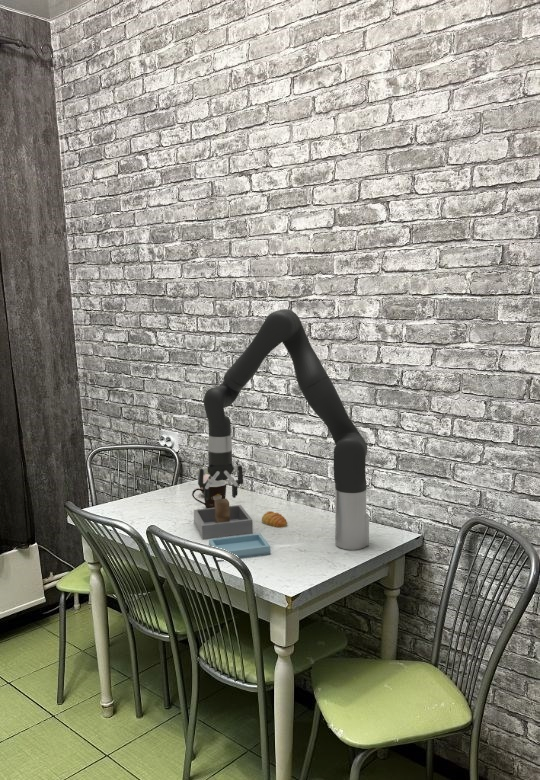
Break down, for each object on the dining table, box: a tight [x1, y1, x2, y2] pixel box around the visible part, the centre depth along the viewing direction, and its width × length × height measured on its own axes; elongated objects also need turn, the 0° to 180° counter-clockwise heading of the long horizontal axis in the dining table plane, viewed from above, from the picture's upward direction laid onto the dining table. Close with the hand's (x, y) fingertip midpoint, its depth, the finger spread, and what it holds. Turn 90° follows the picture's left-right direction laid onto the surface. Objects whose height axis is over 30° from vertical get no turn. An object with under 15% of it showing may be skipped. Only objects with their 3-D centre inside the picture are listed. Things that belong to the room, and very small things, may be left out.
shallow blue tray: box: [208, 533, 271, 559], centre depth 186 cm, size 16×11×2 cm
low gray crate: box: [193, 504, 254, 541], centre depth 203 cm, size 16×16×5 cm
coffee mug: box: [191, 480, 228, 509], centre depth 222 cm, size 12×9×10 cm
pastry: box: [261, 510, 288, 529], centre depth 207 cm, size 9×7×4 cm
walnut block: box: [215, 498, 230, 523], centre depth 203 cm, size 4×4×9 cm
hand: (221, 498), depth 202 cm, fingers open, 8 cm apart
